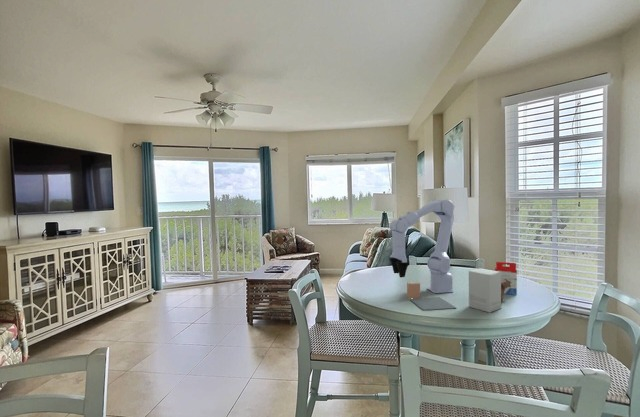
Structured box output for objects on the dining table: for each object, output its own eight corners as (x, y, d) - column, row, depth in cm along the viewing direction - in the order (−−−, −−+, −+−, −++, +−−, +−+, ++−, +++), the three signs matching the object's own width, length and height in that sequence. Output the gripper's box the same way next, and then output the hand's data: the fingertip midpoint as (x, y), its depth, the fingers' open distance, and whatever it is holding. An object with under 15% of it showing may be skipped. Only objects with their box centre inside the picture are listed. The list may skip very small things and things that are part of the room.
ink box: (515, 292, 149) (515, 261, 149) (516, 295, 145) (517, 263, 144) (494, 290, 153) (494, 259, 152) (495, 293, 148) (495, 261, 148)
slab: (417, 296, 145) (417, 281, 145) (420, 298, 142) (420, 282, 142) (407, 297, 144) (407, 281, 144) (409, 298, 142) (409, 283, 141)
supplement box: (502, 308, 128) (502, 271, 127) (489, 313, 123) (489, 274, 122) (480, 302, 135) (480, 267, 135) (467, 306, 130) (468, 270, 130)
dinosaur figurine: (497, 296, 143) (497, 276, 143) (511, 299, 138) (511, 278, 138) (480, 302, 136) (480, 280, 136) (494, 305, 131) (494, 283, 131)
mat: (439, 297, 142) (439, 297, 142) (456, 308, 128) (456, 307, 128) (409, 299, 140) (409, 298, 140) (423, 310, 127) (423, 309, 127)
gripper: (385, 243, 152) (385, 271, 153) (395, 248, 138) (396, 279, 138) (399, 243, 153) (399, 271, 154) (411, 247, 139) (411, 278, 139)
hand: (399, 275), depth 146 cm, fingers open, 7 cm apart
